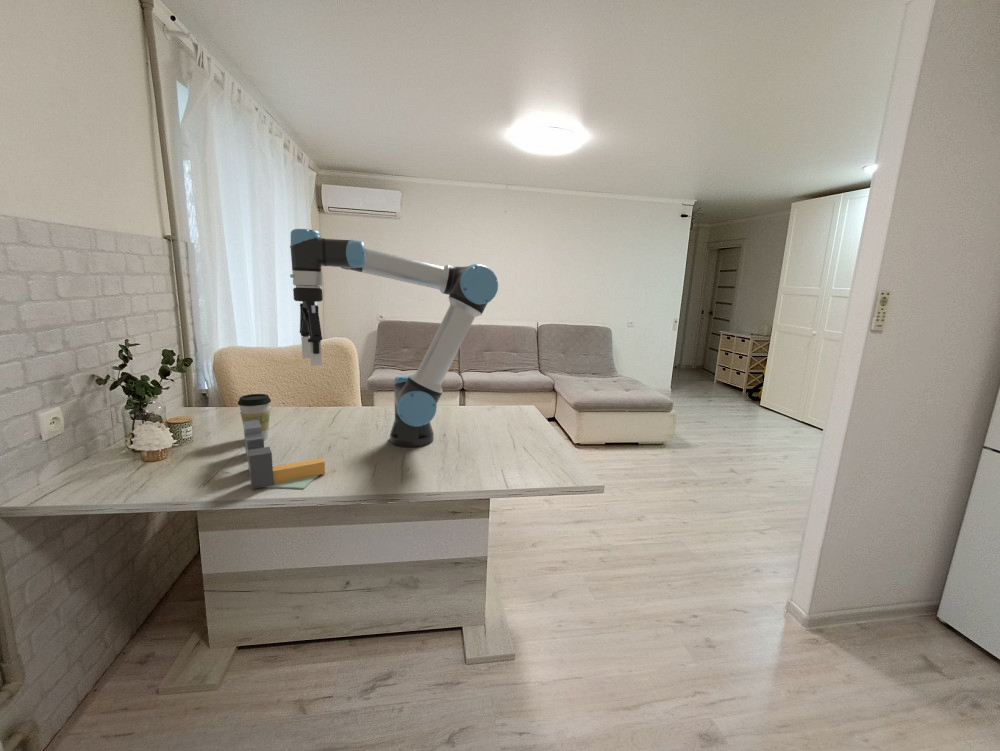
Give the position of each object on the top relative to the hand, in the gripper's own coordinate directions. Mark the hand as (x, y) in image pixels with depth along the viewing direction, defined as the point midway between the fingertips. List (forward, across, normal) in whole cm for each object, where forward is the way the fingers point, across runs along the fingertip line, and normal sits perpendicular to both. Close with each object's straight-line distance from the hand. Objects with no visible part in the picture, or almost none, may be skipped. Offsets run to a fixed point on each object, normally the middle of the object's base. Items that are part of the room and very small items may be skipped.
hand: (311, 361), depth 125 cm
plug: (+30, +10, -9) cm, 33 cm away
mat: (+31, +10, -9) cm, 34 cm away
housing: (+31, -7, -16) cm, 35 cm away
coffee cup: (+31, -29, -14) cm, 45 cm away
